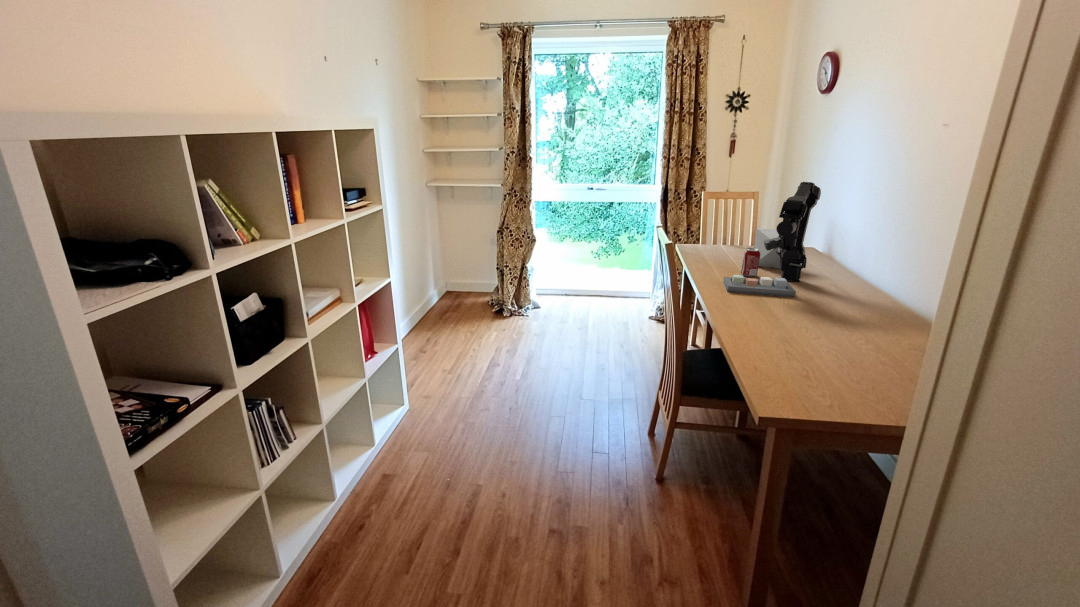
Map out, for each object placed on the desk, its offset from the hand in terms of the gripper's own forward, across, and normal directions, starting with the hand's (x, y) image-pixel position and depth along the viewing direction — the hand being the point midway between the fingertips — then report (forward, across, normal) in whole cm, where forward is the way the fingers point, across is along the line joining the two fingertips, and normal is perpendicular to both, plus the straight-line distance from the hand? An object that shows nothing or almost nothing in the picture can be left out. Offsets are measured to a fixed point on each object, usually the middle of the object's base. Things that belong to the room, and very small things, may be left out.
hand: (782, 270), depth 203 cm
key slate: (+6, 0, 0) cm, 6 cm away
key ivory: (+6, 0, -5) cm, 8 cm away
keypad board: (+8, 0, -8) cm, 12 cm away
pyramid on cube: (+9, -41, +5) cm, 42 cm away
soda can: (+9, -21, -8) cm, 24 cm away
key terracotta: (+7, 0, -11) cm, 13 cm away
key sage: (+6, 0, -16) cm, 17 cm away
